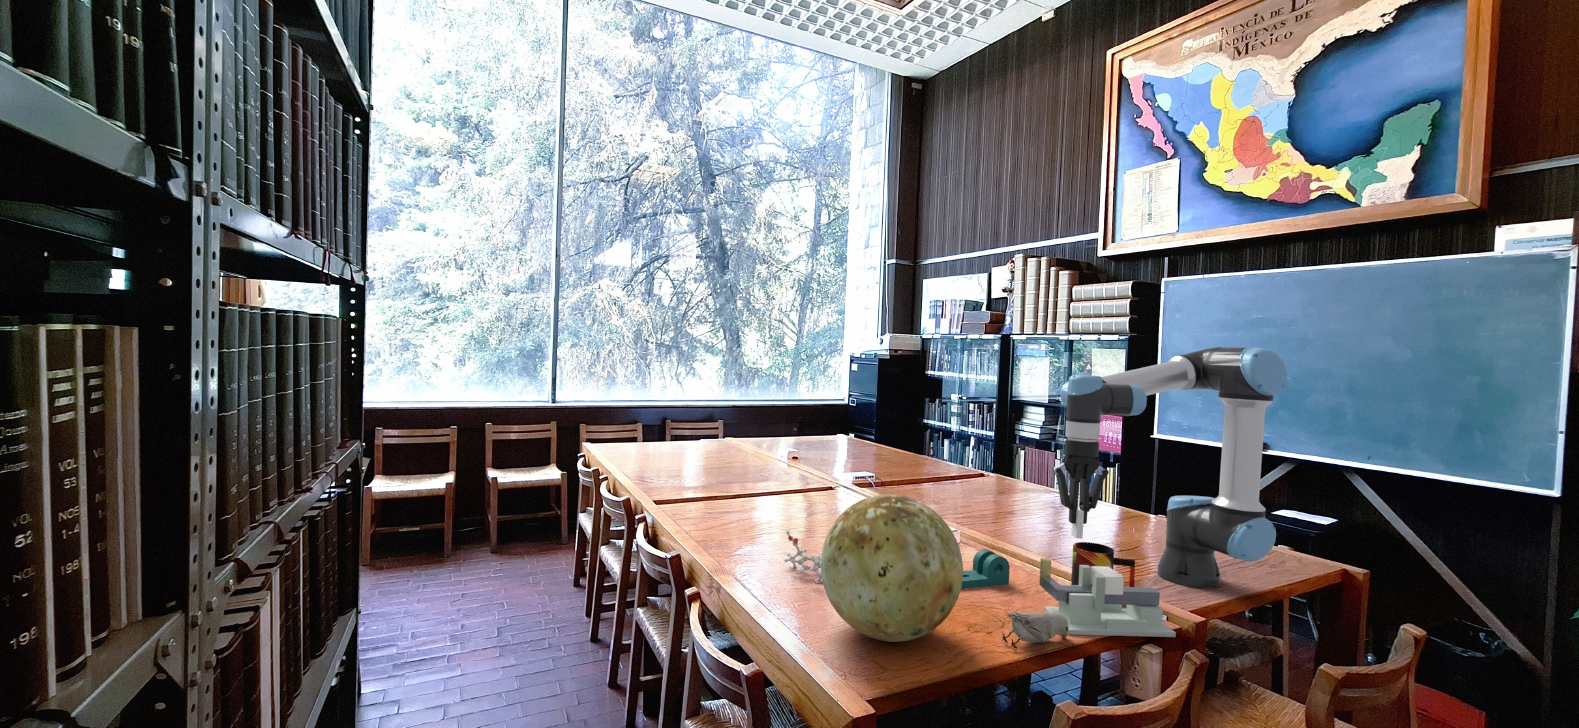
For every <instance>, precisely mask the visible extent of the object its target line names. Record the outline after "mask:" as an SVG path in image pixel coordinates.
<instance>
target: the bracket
mask: <svg viewBox="0 0 1579 728" xmlns="http://www.w3.org/2000/svg"><path fill="white" fill-rule="evenodd" d="M1010 566H1011V565H1010V563H1009V561H1008V559H1006V557H1003V556H1002V555H1000V554H998V553H997V554H996V552H994V551H993V550H990V549H988V548H982V549H980V550H978V551H977V552H975V554H974V556H973V559H972V569H970V570H963V580H962V587H961V590H966V589H965V588H968V589H976V588H977V587H978V588H985V587H987V588H988V587H995V586H996V587H998V586H1006V585H1007V586H1008V585H1010V569H1011V568H1010ZM962 588H963V589H962ZM978 588H977V589H978Z"/></svg>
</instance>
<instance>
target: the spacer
mask: <svg viewBox="0 0 1579 728" xmlns="http://www.w3.org/2000/svg"><path fill="white" fill-rule="evenodd" d="M1093 575H1102V576H1104V577H1105V594H1112V595H1123V587H1124V579H1125V577H1124V576H1123V575H1121V574H1120V573H1118V572H1117V571H1115V570H1114V569H1113V570H1112V569H1111V568H1110V567H1102V566H1091V584H1092V581H1093Z"/></svg>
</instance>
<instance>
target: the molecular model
mask: <svg viewBox="0 0 1579 728" xmlns="http://www.w3.org/2000/svg"><path fill="white" fill-rule="evenodd" d="M785 534H786V535H787V536H788V537H787V540H788V541H789V542H792V546H794V547H795V548H796V551H797V552H796V554H794V555H792V554H791V553H790V552H789V553H787V557H788V558H784V563H788V562H790V563H791V564H792V567H793V568H794V567H796V568H797V566H802V568H800V569H799V573H804V571H809V572H811V573H812V572H814V573H817V574H818V575H817V576H818V577H817V578H816V579H814V583H815V582H818V583H819V581H820V580H821V579H822V576H821V571H819V569H821V556H820V555H816V556H815V555H811V556H810V557H808V555H804V554H803V553H807V549H806V548H803V549H802V550H801V549H800V548H799V539H798V538H797V537H793V535H791V534H790V530H785ZM798 556H801V558H799V559H798V560H797V559H796V558H797V557H798ZM807 561H810V562H811V561H812V563H813V566H808V565H807V564H804V563H805V562H807ZM797 564H798V565H797Z"/></svg>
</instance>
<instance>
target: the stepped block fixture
mask: <svg viewBox="0 0 1579 728" xmlns="http://www.w3.org/2000/svg"><path fill="white" fill-rule="evenodd" d="M1068 585H1069V586H1091V567H1090V566H1088V565H1079V585H1071V584H1068ZM1104 600H1105V577H1104V576H1102V575H1093V581H1092V594H1089V593H1069V603H1065V602H1064V601H1058V606H1047V605H1046V606H1043V611H1044V613H1059V614H1062V615H1063V616H1064V617H1065V618H1066V620H1067V622H1068V626H1069V630H1068V635H1077V636H1078V635H1079V636H1112V637H1113V636H1118V637H1119V636H1123V637H1154V638H1155V637H1157V638H1159V637H1160V638H1176V635H1177V632H1176V631H1174V630H1173V629H1172V628H1170V627H1169V626H1168V625H1166V624H1165V623H1164V622H1163V613H1164V609H1163V608H1161V607H1160V605H1159V606H1156V605H1126V607H1125V608H1123V605H1118V604H1104Z"/></svg>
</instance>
